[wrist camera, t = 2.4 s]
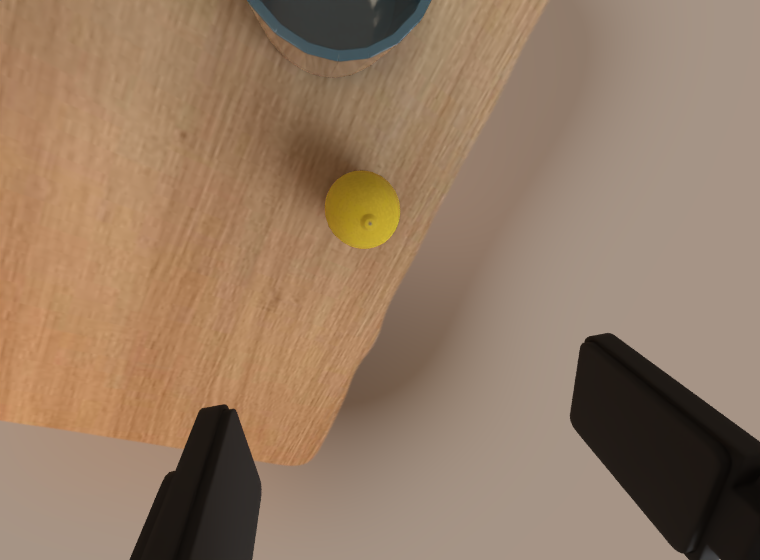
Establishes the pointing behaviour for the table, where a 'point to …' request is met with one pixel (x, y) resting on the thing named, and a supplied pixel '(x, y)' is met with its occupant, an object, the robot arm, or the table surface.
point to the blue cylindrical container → (336, 31)
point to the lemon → (362, 209)
